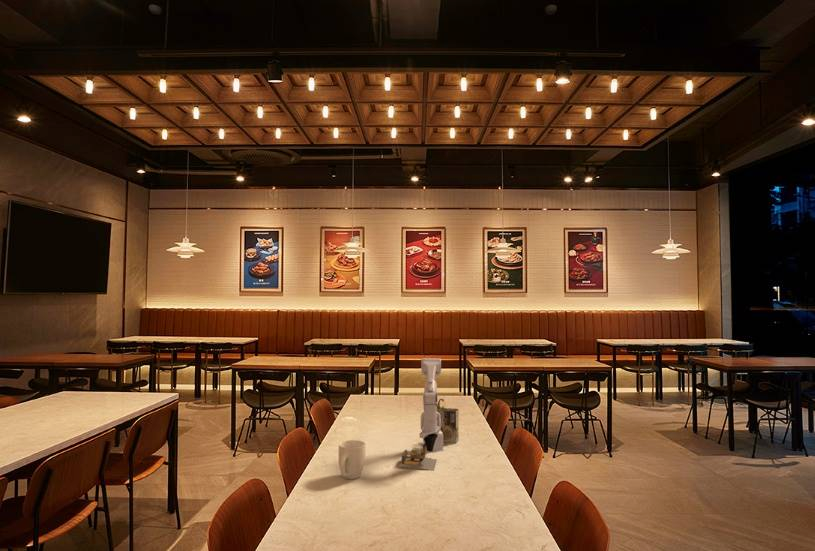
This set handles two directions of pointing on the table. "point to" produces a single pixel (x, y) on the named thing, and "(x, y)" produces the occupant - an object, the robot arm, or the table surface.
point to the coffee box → (449, 424)
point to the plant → (439, 405)
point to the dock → (417, 463)
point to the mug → (352, 458)
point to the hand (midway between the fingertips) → (429, 451)
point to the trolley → (418, 453)
